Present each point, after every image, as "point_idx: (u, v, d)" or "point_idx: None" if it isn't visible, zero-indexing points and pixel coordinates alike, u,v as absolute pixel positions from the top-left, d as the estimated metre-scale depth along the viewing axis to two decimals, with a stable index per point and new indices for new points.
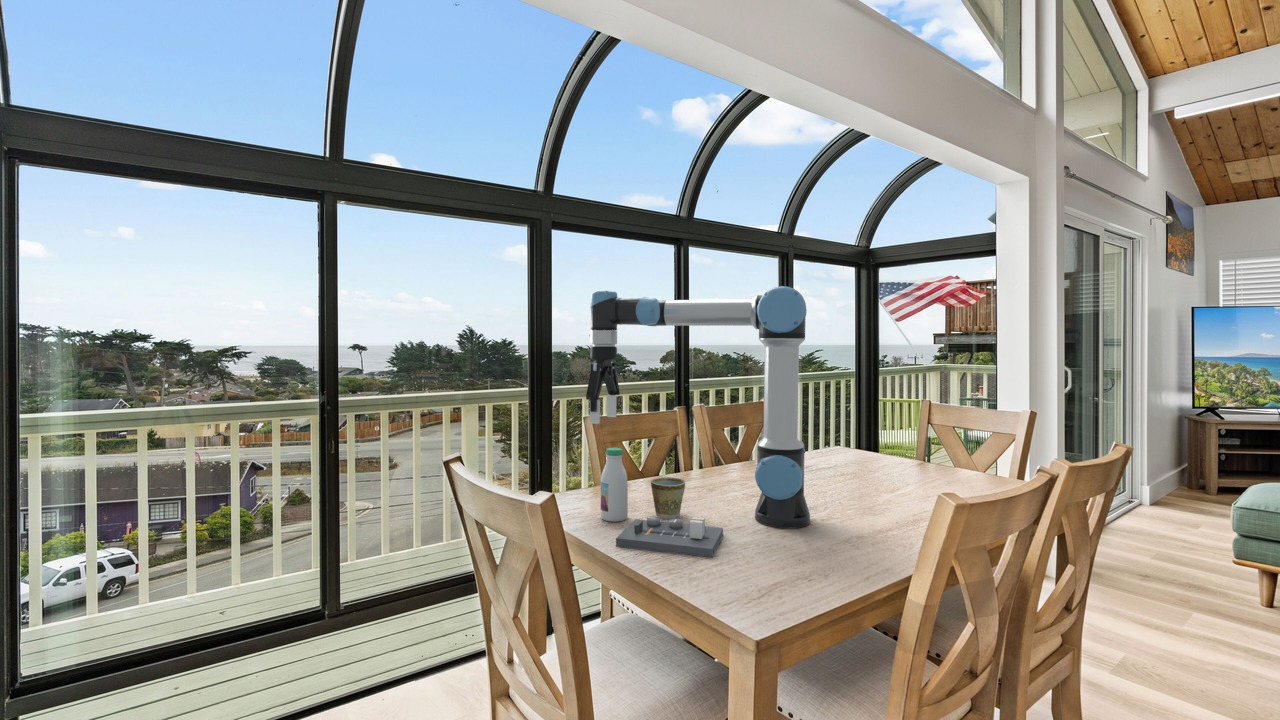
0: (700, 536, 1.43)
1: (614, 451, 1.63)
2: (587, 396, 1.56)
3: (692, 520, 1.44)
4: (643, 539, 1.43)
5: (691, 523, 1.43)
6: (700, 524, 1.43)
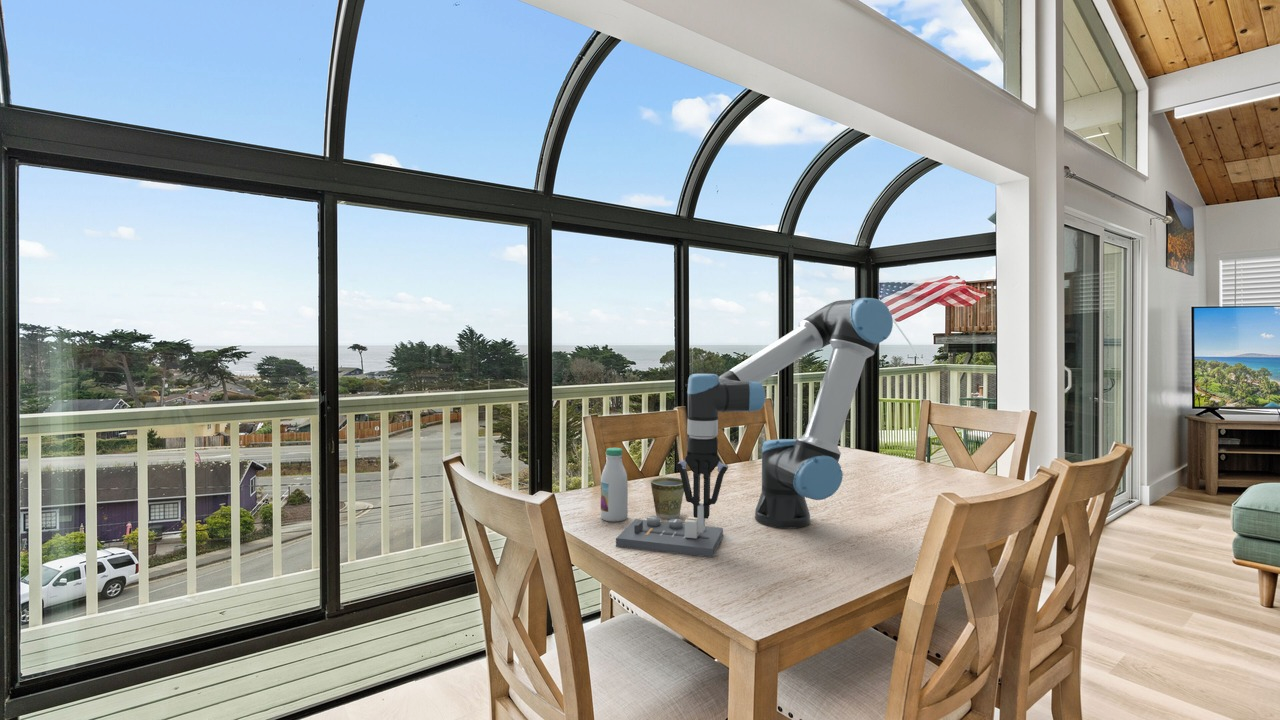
0: (695, 535, 1.43)
1: (614, 451, 1.63)
2: None
3: (687, 520, 1.45)
4: (643, 539, 1.43)
5: (686, 522, 1.44)
6: (695, 523, 1.43)
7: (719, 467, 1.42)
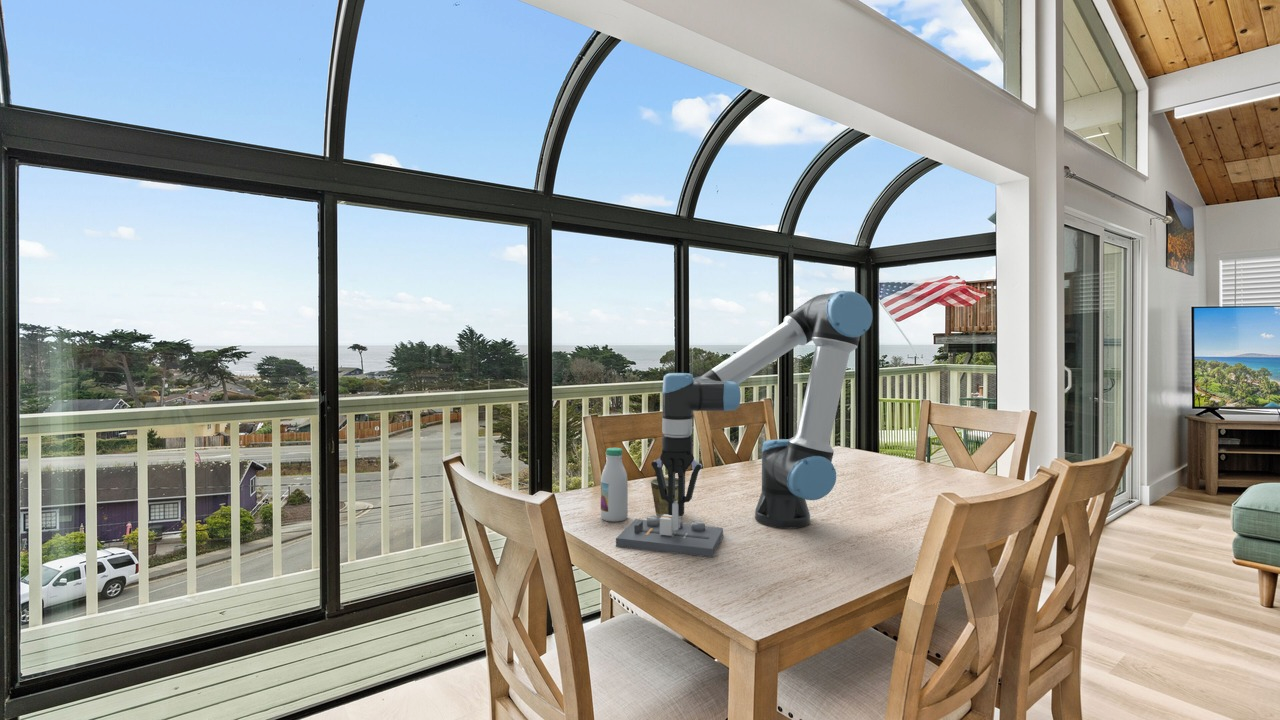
0: (670, 533, 1.45)
1: (614, 451, 1.63)
2: None
3: (662, 517, 1.46)
4: (643, 539, 1.43)
5: (661, 520, 1.45)
6: (670, 521, 1.45)
7: (693, 465, 1.44)
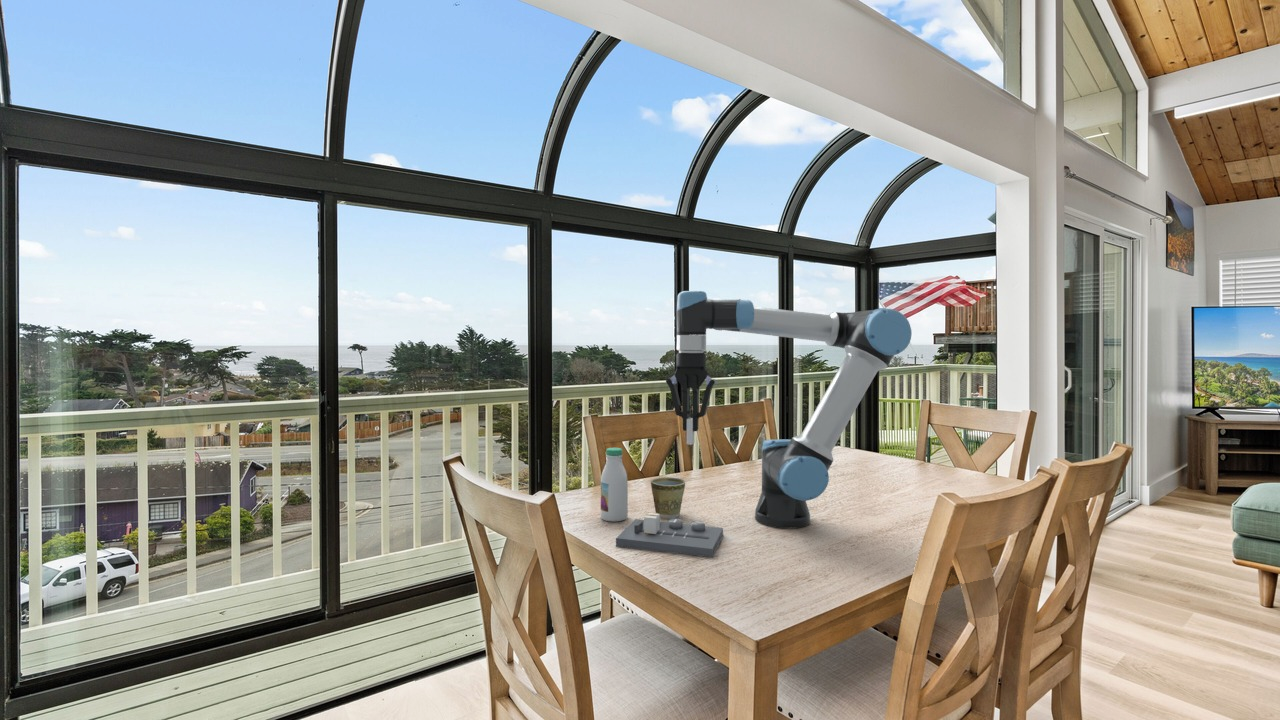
0: (654, 531, 1.46)
1: (614, 451, 1.63)
2: None
3: (647, 516, 1.48)
4: (643, 539, 1.43)
5: (645, 518, 1.47)
6: (654, 519, 1.46)
7: (707, 381, 1.47)
